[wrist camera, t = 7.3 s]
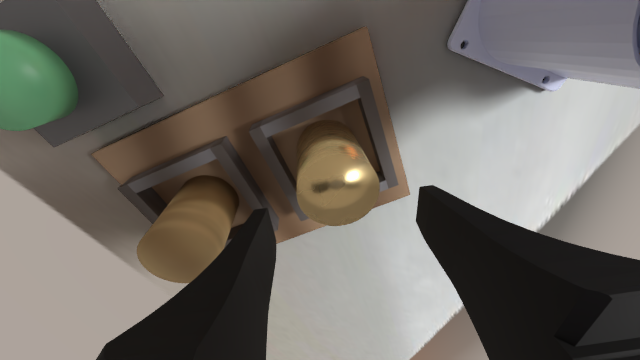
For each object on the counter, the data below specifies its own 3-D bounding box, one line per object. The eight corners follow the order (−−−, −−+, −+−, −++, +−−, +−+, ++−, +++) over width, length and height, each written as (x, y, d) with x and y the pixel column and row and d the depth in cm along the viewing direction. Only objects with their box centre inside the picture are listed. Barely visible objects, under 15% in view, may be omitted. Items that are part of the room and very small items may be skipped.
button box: (88, -9, 14) (39, -21, 11) (163, 95, 16) (138, 106, 14) (4, 38, 14) (-61, 38, 12) (90, 130, 17) (53, 147, 15)
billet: (350, 112, 17) (374, 145, 12) (360, 167, 19) (383, 215, 14) (289, 128, 17) (285, 167, 12) (305, 181, 19) (308, 233, 14)
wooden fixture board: (363, 27, 15) (405, 19, 9) (405, 188, 22) (447, 246, 16) (100, 148, 18) (0, 205, 12) (208, 261, 24) (178, 336, 18)
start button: (22, 13, 11) (-25, 9, 9) (97, 100, 13) (69, 110, 11) (-47, 52, 11) (-103, 55, 10) (35, 131, 13) (0, 143, 12)
